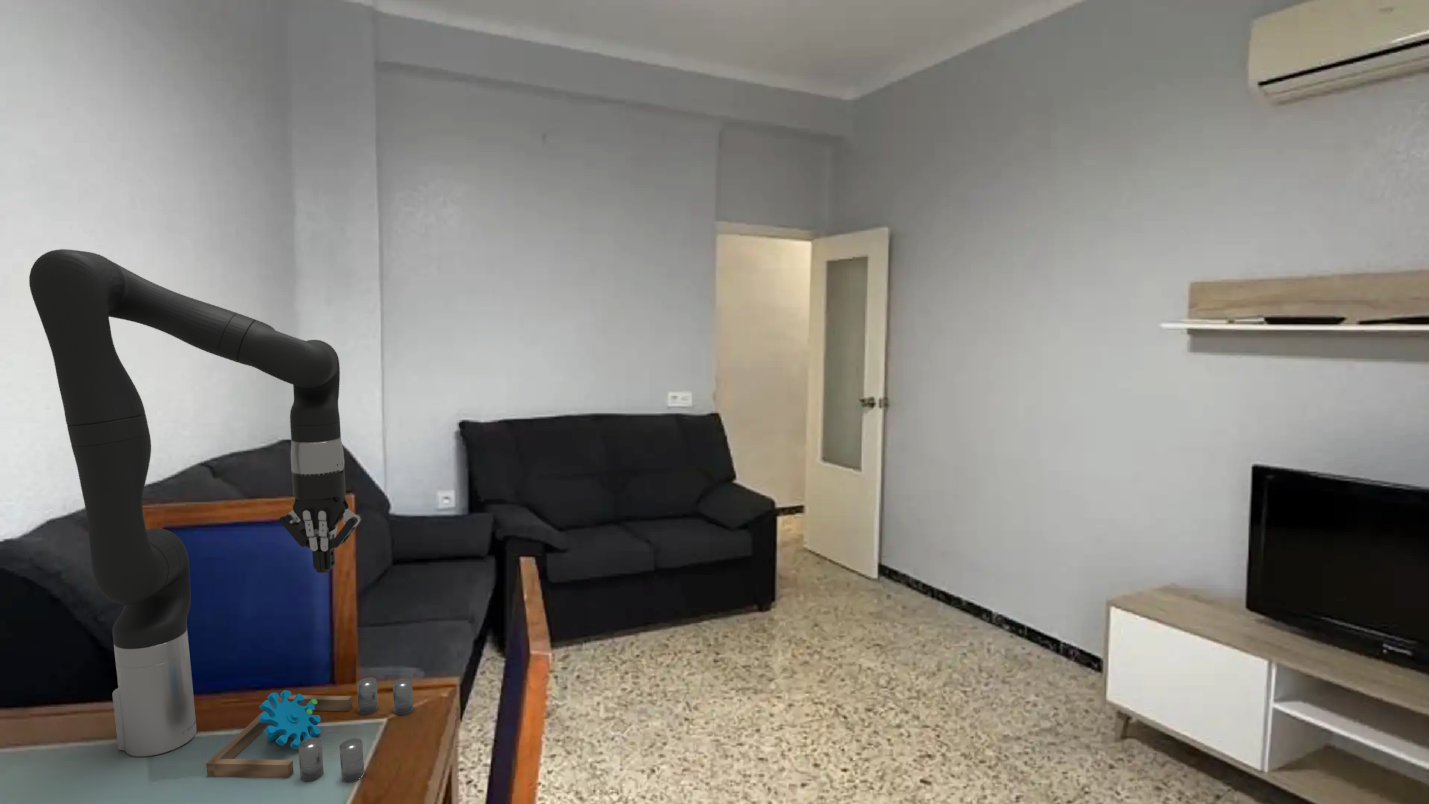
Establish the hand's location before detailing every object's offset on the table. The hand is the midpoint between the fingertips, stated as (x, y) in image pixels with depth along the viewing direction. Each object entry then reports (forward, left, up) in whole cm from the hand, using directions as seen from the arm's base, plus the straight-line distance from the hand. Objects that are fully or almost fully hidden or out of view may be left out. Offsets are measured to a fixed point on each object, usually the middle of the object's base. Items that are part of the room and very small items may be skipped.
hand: (324, 571), depth 128 cm
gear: (-2, -8, -25) cm, 26 cm away
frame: (-4, -8, -25) cm, 26 cm away
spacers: (+8, -8, -25) cm, 27 cm away
